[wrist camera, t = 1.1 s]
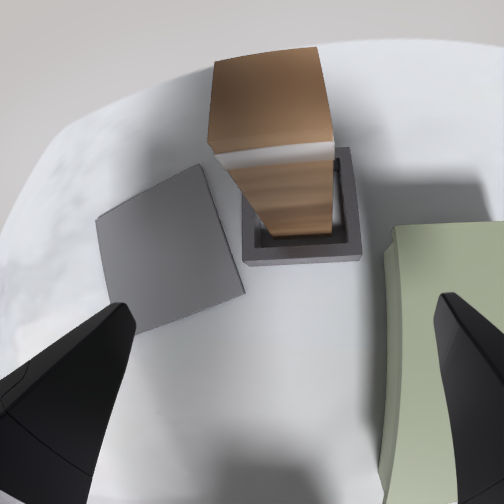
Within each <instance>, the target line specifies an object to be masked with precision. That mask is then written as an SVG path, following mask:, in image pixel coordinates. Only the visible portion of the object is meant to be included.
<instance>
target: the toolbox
mask: <svg viewBox="0 0 504 504" xmlns="http://www.w3.org/2000/svg"><path fill="white" fill-rule="evenodd" d="M392 239H393V242H392V243H391V244H390V245H389V247H388V248H387V249H386V250H385V252H384V253H383V256H384V269H385V284H386V305H387V380H386V400H385V415H384V426H383V437H382V446H381V454H380V462H379V469H378V474H379V477H380V480H381V484H382V487H383V491H384V498H383V503H382V504H449V503H453V502H456V501H458V495H457V479H456V467H455V457H454V448H453V441H452V433H451V427H450V420H449V414H448V409H447V403H446V398H445V393H444V388H443V383H442V379H441V373H440V367H439V359H438V351H437V344H436V337H435V331H434V324H433V317H434V313H435V309H436V305H437V301H438V297H439V295H440V294H441V293H445V292H455V293H456V294H458V295H459V296H460V297H461V298H463V299H464V300H465V301H466V302H467V303H469V304H470V305H471V306H472V307H474V308H475V309H476V310H477V311H478V312H479V313H481V314H482V315H483V316H484V317H485V318H487V319H488V320H489V321H490V322H491V323H492V324H494V325H495V326H496V327H497V328H498V329H499V330H500V331H502V332H503V333H504V221H491V222H461V223H436V224H413V225H395V226H394V228H393V229H392Z"/></svg>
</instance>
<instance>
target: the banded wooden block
mask: <svg viewBox="0 0 504 504" xmlns="http://www.w3.org/2000/svg"><path fill="white" fill-rule="evenodd" d="M207 143H208V144H209V145H210V147H211V148H212V150H213V151H214V156H215V157H216V159H217V160H218V162H219V163H220V164H221V166H222V167H223V169H224V170H227V171H228V173H229V174H230V175H231V177H232V178H233V180H234V181H235V183H236V184H237V186H238V187H239V188H240V190H241V191H242V193H243V194H244V196H245V197H246V199H247V200H248V201H249V203H250V204H251V206H252V207H253V209H254V210H255V212H256V213H257V215H258V216H259V218H260V219H261V220H262V222H263V223H264V225H265V226H266V228H267V229H268V231H269V232H270V234H271V235H272V237H273V238H274V240H282V239H298V238H315V237H332V210H333V160H335V146H334V136H333V128H332V122H331V116H330V110H329V104H328V99H327V93H326V88H325V83H324V78H323V73H322V68H321V64H320V59H319V54H318V50H317V47H309V48H298V49H288V50H280V51H272V52H265V53H259V54H253V55H247V56H241V57H236V58H231V59H226V60H221V61H216V62H215V63H214V72H213V82H212V92H211V103H210V114H209V126H208V139H207Z"/></svg>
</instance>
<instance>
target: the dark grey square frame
mask: <svg viewBox="0 0 504 504" xmlns="http://www.w3.org/2000/svg"><path fill="white" fill-rule="evenodd" d="M333 171H339V174H340V182H341V190H342V200H343V209H344V220H345V231H346V243H338V244H320V245H303V246H285V247H268V248H261V227H260V218H259V216H258V215H257V213H256V212H255V210H254V209H253V207H252V206H251V204H250V203H249V201H248V200H247V199H246V197H245V196H244V194H243V196H242V261H243V262H244V263H246V264H247V265H249V266H268V265H289V264H309V263H328V262H346V261H359V260H360V258H361V256H362V244H361V233H360V223H359V213H358V204H357V196H356V188H355V181H354V174H353V167H352V160H351V154H350V148H349V147H343V148H335V160H333Z"/></svg>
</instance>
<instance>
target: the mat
mask: <svg viewBox="0 0 504 504" xmlns="http://www.w3.org/2000/svg"><path fill="white" fill-rule="evenodd" d="M95 223H96V229H97V236H98V242H99V248H100V254H101V260H102V265H103V270H104V275H105V280H106V285H107V290H108V294H109V299H110V303H113V302H124V303H126V304H127V305H128V307H129V309H130V311H131V313H132V315H133V317H134V319H135V321H136V332H135V335H137V334H139V333H142V332H145V331H148V330H151V329H153V328H156V327H159V326H161V325H164V324H167V323H170V322H172V321H175V320H178V319H180V318H183V317H186V316H188V315H191V314H194V313H196V312H199V311H202V310H204V309H207V308H209V307H212V306H215V305H217V304H220V303H222V302H225V301H228V300H230V299H233V298H235V297H238V296H240V295H243V294H245V291H244V288H243V285H242V282H241V279H240V277H239V274H238V271H237V268H236V265H235V262H234V260H233V257H232V254H231V251H230V248H229V245H228V243H227V240H226V237H225V234H224V231H223V228H222V225H221V223H220V220H219V217H218V214H217V211H216V208H215V205H214V202H213V199H212V196H211V193H210V191H209V188H208V185H207V182H206V179H205V176H204V173H203V170H202V167H201V165H200V164H197V165H195V166H193V167H191V168H189V169H187V170H185V171H183V172H181V173H179V174H177V175H175V176H173V177H171V178H169V179H167V180H165V181H164V182H162V183H160V184H158V185H156V186H154V187H152V188H150V189H149V190H147V191H145V192H143V193H141V194H140V195H138V196H136V197H134V198H132V199H131V200H129V201H127V202H125V203H124V204H122V205H120V206H118V207H117V208H115V209H113V210H112V211H110V212H108V213H107V214H105V215H103V216H102V217H100V218H98V219H97V220H95Z"/></svg>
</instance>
